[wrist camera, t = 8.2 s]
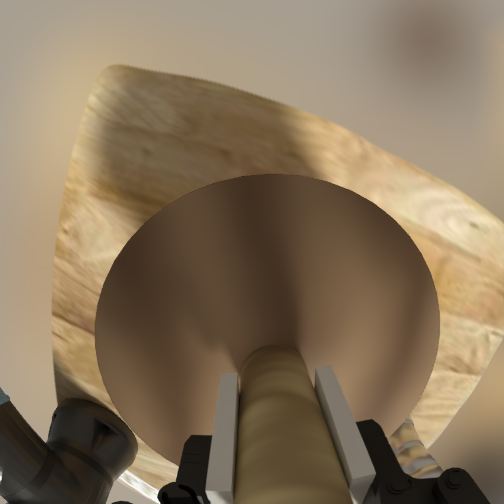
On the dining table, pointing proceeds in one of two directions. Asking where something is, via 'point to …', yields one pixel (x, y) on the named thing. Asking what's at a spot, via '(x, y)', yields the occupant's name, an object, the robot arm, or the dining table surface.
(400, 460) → the plastic bottle
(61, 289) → the dining table surface
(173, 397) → the lid
